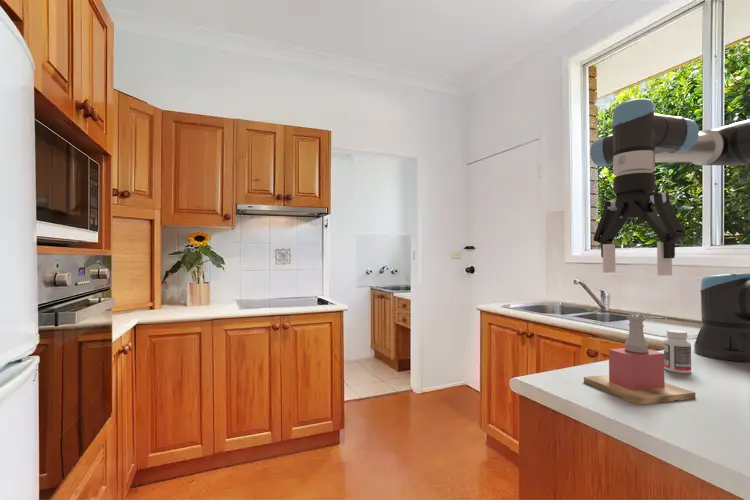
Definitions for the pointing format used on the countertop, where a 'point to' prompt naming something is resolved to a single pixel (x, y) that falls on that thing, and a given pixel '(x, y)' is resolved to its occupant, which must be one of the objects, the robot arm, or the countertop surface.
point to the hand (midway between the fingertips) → (634, 274)
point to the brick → (636, 369)
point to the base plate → (640, 391)
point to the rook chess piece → (636, 335)
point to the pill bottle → (677, 352)
